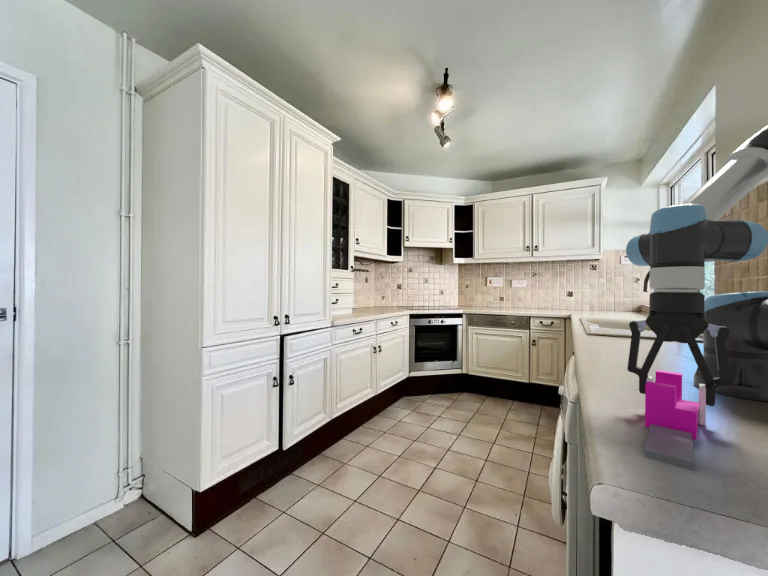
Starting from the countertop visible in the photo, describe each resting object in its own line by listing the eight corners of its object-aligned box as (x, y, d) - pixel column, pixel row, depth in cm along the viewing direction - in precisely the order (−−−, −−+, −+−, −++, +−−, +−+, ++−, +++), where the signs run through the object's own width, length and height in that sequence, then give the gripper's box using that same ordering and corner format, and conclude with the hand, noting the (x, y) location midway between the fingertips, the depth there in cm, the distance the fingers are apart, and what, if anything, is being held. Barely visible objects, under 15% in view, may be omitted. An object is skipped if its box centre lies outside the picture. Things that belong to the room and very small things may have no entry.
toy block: (695, 440, 51) (696, 393, 51) (645, 428, 55) (645, 384, 55) (699, 415, 61) (700, 376, 61) (656, 406, 66) (657, 369, 66)
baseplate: (650, 430, 54) (650, 424, 54) (691, 439, 51) (691, 433, 51) (644, 456, 45) (644, 449, 45) (693, 470, 42) (693, 462, 42)
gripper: (752, 292, 56) (751, 426, 56) (614, 290, 69) (613, 399, 69) (760, 291, 50) (758, 441, 50) (608, 290, 63) (607, 408, 63)
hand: (674, 416), depth 59 cm, fingers open, 6 cm apart
